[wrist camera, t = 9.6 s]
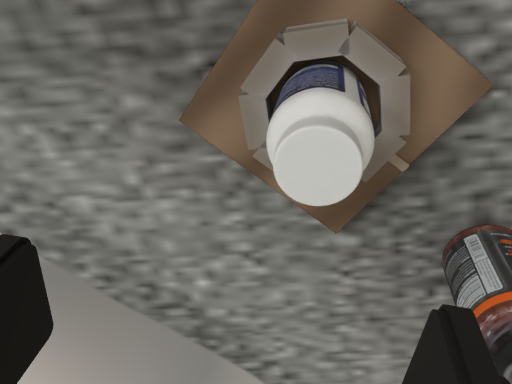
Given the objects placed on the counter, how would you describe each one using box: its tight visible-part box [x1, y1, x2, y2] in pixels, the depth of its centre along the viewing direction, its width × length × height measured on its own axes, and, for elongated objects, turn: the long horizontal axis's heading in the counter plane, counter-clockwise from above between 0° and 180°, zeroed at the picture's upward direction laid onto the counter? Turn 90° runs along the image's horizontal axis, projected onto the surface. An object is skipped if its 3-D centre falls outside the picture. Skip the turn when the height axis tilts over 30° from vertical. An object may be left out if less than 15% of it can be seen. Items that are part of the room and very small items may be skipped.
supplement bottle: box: [442, 225, 512, 384], centre depth 28 cm, size 6×6×11 cm
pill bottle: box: [266, 61, 375, 206], centre depth 23 cm, size 5×5×10 cm
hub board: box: [179, 0, 494, 233], centre depth 27 cm, size 14×14×4 cm
